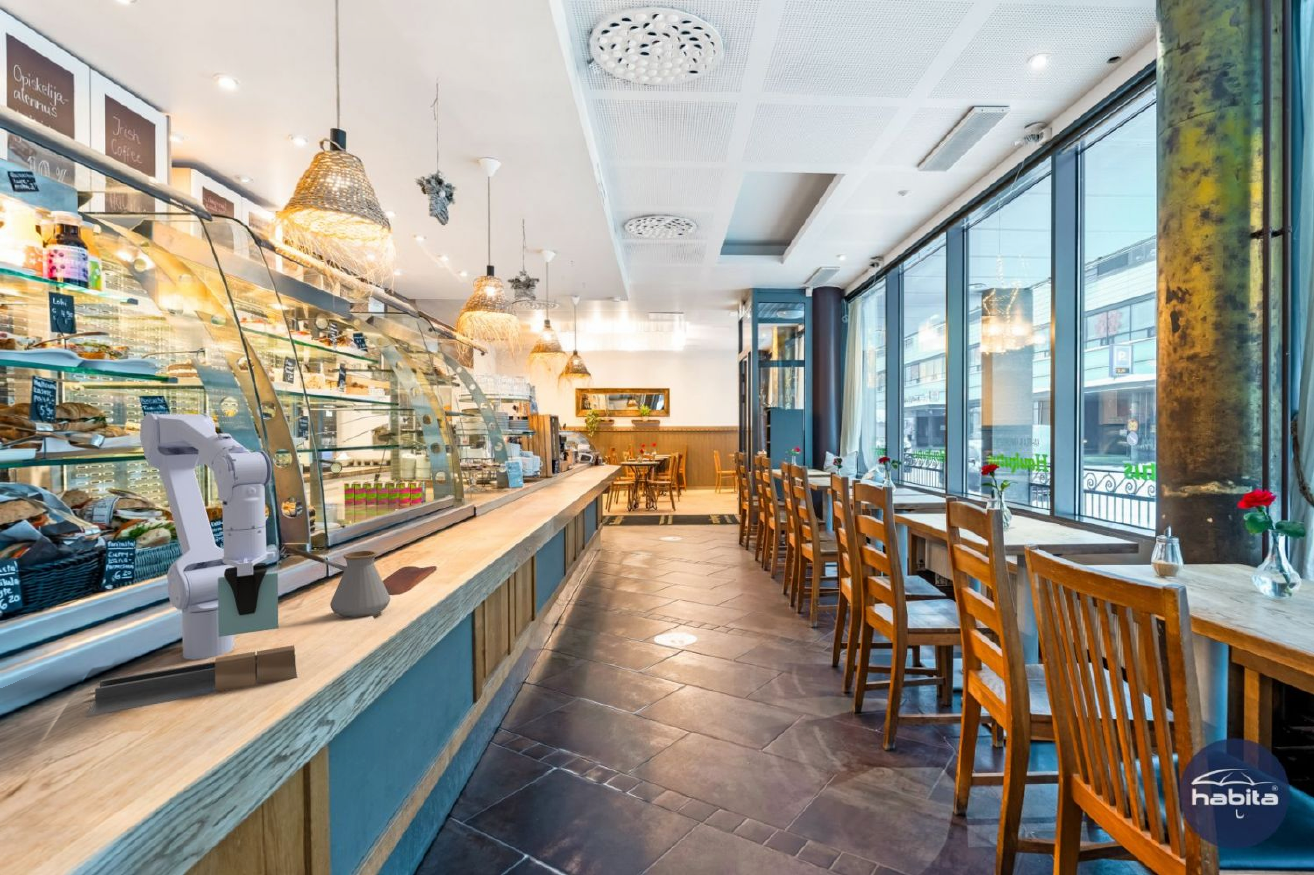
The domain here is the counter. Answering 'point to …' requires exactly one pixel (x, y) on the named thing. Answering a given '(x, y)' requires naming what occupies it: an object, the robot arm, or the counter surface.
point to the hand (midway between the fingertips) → (247, 612)
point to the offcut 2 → (275, 664)
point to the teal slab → (248, 623)
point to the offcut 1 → (235, 671)
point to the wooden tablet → (406, 579)
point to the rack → (156, 688)
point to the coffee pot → (355, 584)
